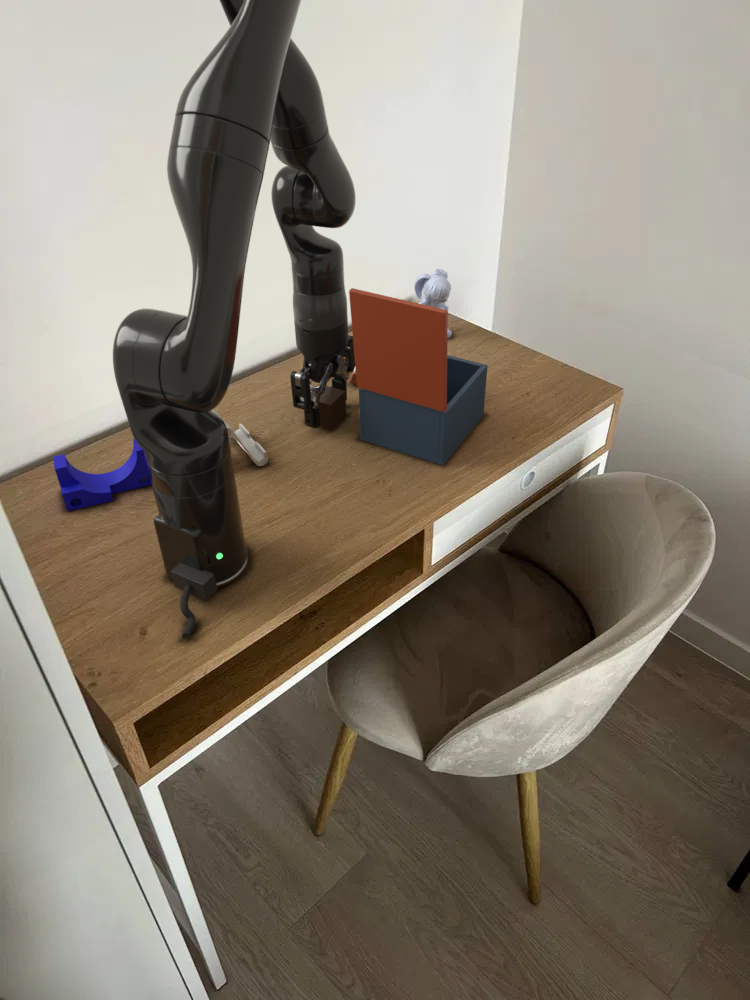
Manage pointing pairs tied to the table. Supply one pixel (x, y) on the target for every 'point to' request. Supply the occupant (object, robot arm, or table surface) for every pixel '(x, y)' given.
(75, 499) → the blue cradle bracket
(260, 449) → the tablet stand
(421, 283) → the toy figurine
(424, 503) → the table surface
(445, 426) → the sorter box
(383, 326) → the lid
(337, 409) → the walnut block
